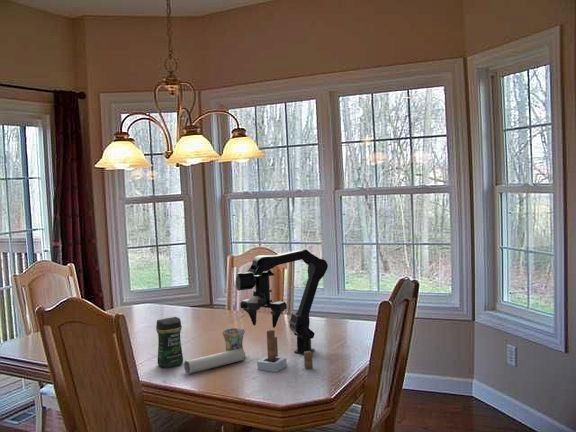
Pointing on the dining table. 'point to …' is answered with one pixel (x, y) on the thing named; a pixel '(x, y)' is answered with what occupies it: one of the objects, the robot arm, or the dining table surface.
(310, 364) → the short walnut dowel
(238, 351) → the tube
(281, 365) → the slate collar block
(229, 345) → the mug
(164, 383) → the dining table surface
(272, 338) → the long walnut dowel
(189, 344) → the dining table surface
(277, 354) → the medium walnut dowel
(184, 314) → the dining table surface
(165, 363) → the coffee jar
